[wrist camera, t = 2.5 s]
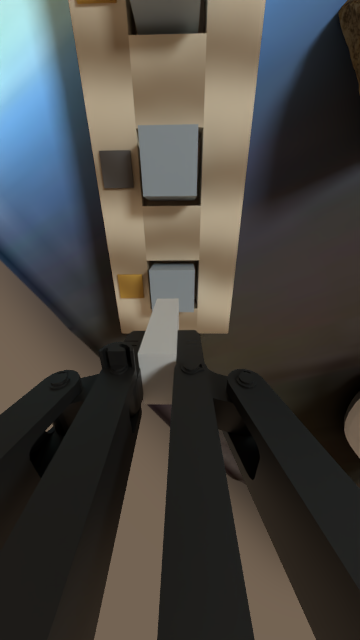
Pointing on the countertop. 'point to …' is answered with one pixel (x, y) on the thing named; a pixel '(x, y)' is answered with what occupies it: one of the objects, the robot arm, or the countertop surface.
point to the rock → (352, 32)
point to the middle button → (169, 161)
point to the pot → (353, 424)
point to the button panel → (170, 109)
